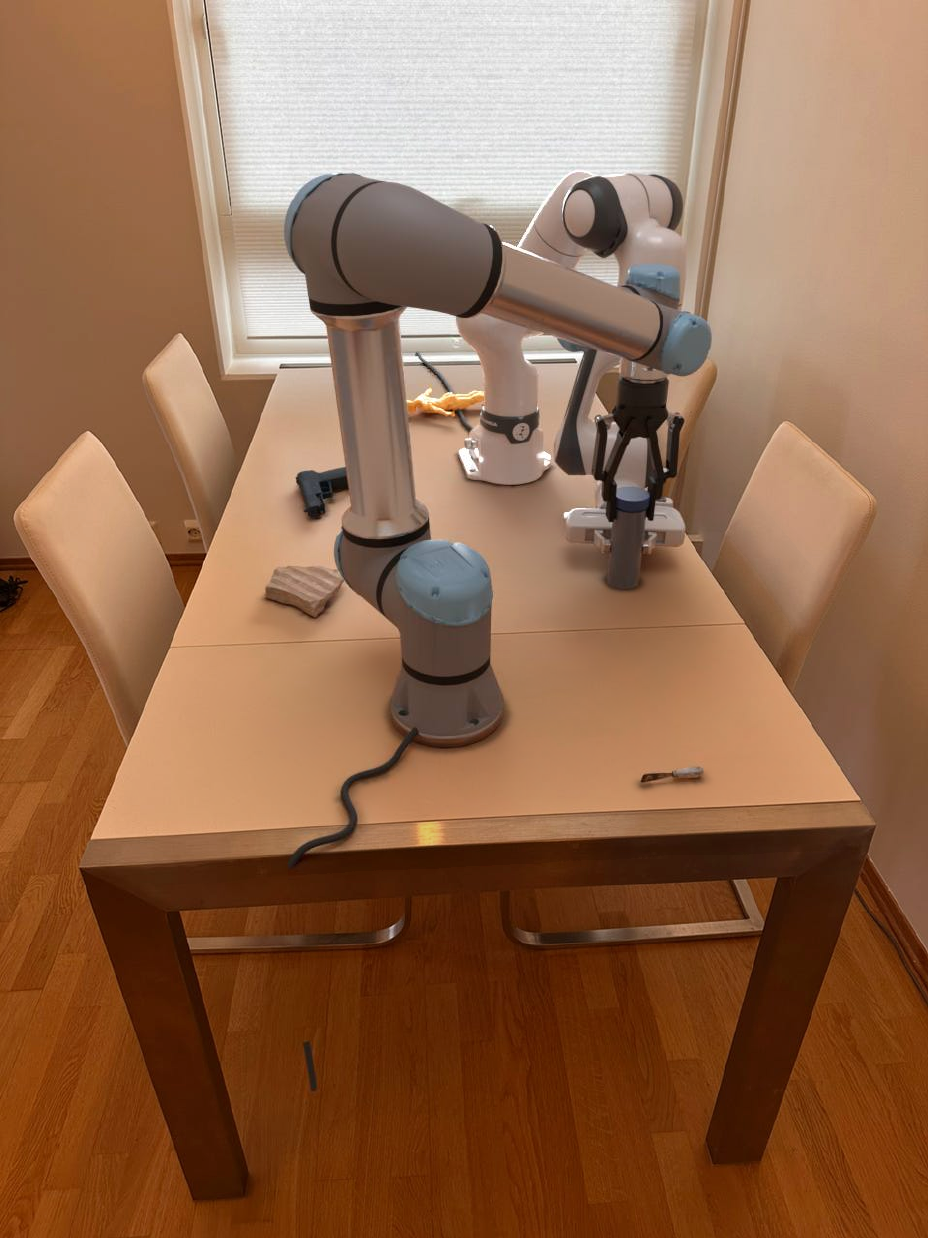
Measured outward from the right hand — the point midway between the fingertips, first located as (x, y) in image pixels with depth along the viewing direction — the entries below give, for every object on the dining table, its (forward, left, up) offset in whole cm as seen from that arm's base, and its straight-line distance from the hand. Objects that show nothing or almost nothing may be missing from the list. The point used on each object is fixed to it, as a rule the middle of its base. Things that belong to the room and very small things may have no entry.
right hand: (626, 549), depth 147 cm
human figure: (-94, +2, -7) cm, 94 cm away
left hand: (-1, 0, +5) cm, 5 cm away
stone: (-14, -51, -7) cm, 54 cm away
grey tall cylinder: (-1, 0, -7) cm, 7 cm away
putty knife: (+45, -18, -7) cm, 49 cm away
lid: (-1, 0, +9) cm, 9 cm away
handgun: (-51, -39, -7) cm, 65 cm away
